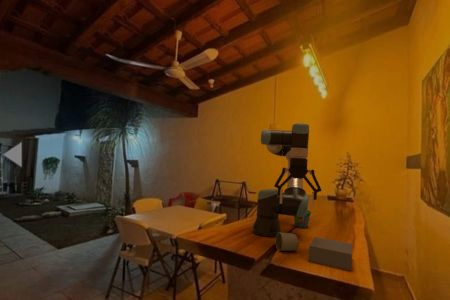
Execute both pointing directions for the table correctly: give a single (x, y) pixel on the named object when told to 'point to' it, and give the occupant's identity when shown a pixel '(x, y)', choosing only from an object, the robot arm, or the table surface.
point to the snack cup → (302, 220)
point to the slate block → (331, 253)
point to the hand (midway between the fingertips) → (296, 205)
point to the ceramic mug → (286, 241)
